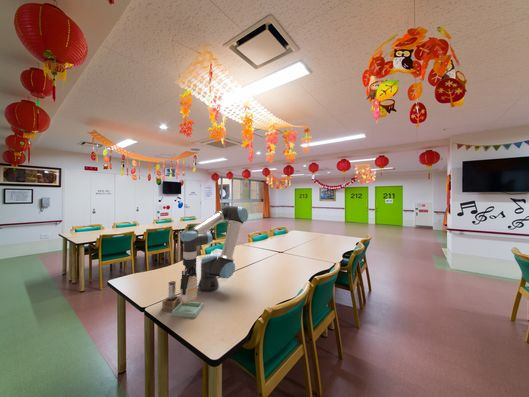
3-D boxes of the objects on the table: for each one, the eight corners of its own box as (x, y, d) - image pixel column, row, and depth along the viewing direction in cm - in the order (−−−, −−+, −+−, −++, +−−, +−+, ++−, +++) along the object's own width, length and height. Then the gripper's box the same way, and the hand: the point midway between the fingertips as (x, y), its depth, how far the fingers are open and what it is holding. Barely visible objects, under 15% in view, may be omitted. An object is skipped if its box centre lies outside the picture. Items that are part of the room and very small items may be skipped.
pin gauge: (170, 305, 126) (170, 281, 126) (176, 305, 126) (176, 281, 126) (166, 308, 122) (167, 283, 122) (172, 309, 122) (173, 284, 122)
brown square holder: (169, 303, 128) (169, 295, 128) (180, 304, 128) (181, 296, 128) (162, 309, 121) (162, 301, 121) (174, 310, 120) (174, 302, 120)
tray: (181, 305, 127) (182, 301, 127) (203, 306, 125) (203, 302, 125) (171, 316, 115) (171, 311, 115) (195, 318, 113) (195, 313, 113)
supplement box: (192, 296, 125) (193, 274, 125) (196, 298, 122) (197, 277, 122) (179, 301, 118) (180, 278, 118) (183, 304, 115) (184, 280, 115)
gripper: (191, 252, 131) (190, 287, 131) (174, 263, 110) (172, 304, 109) (203, 253, 131) (201, 288, 130) (187, 263, 109) (185, 305, 109)
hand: (188, 295), depth 120 cm, fingers closed on supplement box, 9 cm apart
